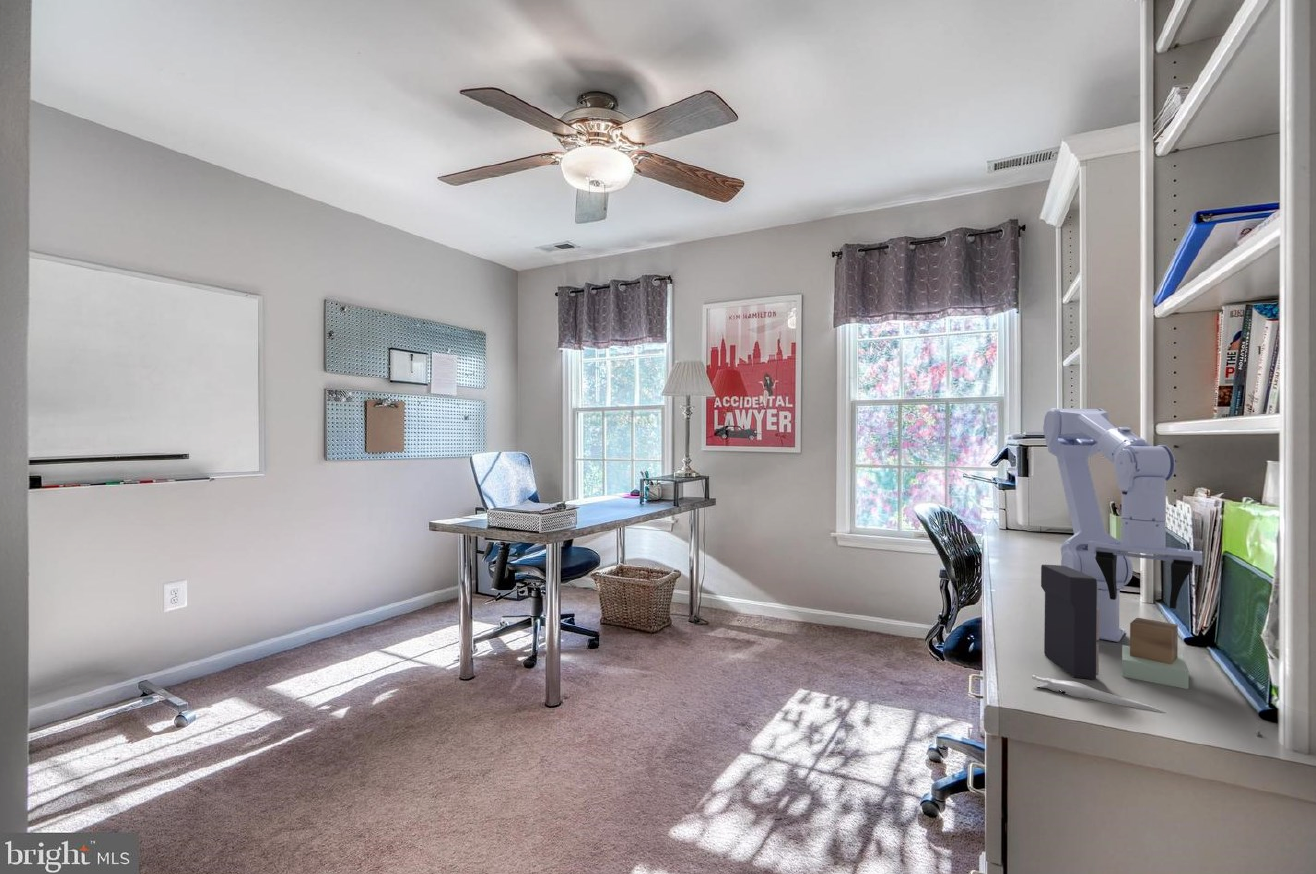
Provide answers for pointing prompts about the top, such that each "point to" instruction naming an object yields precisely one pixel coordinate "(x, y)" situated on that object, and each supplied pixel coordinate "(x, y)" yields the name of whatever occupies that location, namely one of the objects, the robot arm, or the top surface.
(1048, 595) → the calculator
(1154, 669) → the block
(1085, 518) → the robot arm
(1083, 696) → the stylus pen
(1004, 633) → the top surface
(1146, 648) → the walnut cube
